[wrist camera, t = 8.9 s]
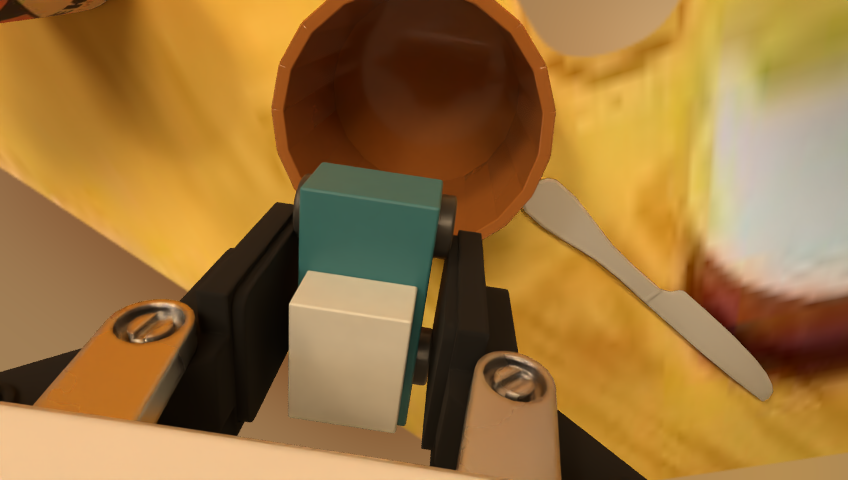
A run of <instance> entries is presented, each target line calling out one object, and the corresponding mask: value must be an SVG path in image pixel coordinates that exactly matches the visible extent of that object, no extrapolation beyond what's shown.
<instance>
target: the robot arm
mask: <svg viewBox="0 0 848 480" xmlns="http://www.w3.org/2000/svg"><path fill="white" fill-rule="evenodd" d="M293 206H294V205H292V204H286V203H279V202H277V203H275V204H274V205H273V206H272V208H271V209H270V210H269V211H268V212H267V213H266V214H265V215H264V216H263V217H262V218H261V220H260V221H259V222H258V223H257V224H256V225H255V226H254V227H253V228H252V229H251V230H250V232H249V233H248V234H247V235H246V236H245V237H244V238H243V239H242V240H241V241H240V242H239V244H238V245H237V246H236V247H235V248H230V249H229V250H227V251H226V252H225V253H224V254H223V255H222V256H221V257H220V259H219V260H218V261H217V262H216V263H215V264H214V265H213V266H212V267H211V268H210V269H209V270H208V271H207V272H206V273H205V275H204V276H203V277H202V278H201V279H200V280H199V281H198V282H197V283H196V284H195V285H194V286H193V287H192V288H191V289H190V291H189V292H188V293H187V294H186V295H185V296H184V297H183V298H182V299H181V300H180V301H175V300H169V299H153V300H148V301H141V302H138V303H135V304H132V305H129V306H126V307H124V308H122V309H121V310H119V311H117V312H115V313H114V314H113V315H112V316H110V317H109V318H108V319H107V320H106V321H105V322H104V324H103V325H102V326H101V327H100V328H99V329H98V330H97V332H96V333H95V334H94V335H93V336H92V338H91V339H90V340H89V341H88V342H87V343H86V344H85V345H84V347H83V348H81V349H78V350H75V351H71V352H68V353H64V354H61V355H58V356H54V357H51V358H47V359H44V360H40V361H37V362H33V363H30V364H27V365H23V366H20V367H16V368H13V369H10V370H6V371H3V372H0V480H647V479H646V478H644V477H643V476H642V475H640V474H639V473H638V472H637V471H635V470H634V469H633V468H632V467H630V466H629V465H628V464H626V463H625V462H624V461H623V460H621V459H620V458H619V457H617V456H616V455H615V454H614V453H612V452H611V451H610V450H608V449H607V448H606V447H605V446H603V445H602V444H601V443H600V442H598V441H597V440H596V439H594V438H593V437H592V436H591V435H589V434H588V433H587V432H585V431H584V430H583V429H582V428H580V427H579V426H578V425H577V424H575V423H574V422H573V421H571V420H570V419H569V418H568V417H566V416H565V415H564V414H562V413H561V412H560V411H559V410H557V399H556V387H555V383H554V380H553V378H552V376H551V375H550V373H549V372H548V370H547V369H546V368H544V367H543V366H542V365H541V364H540V363H539V362H537V361H535V360H534V359H532V358H530V357H528V356H526V355H523V354H520V353H518V349H517V342H516V336H515V330H514V323H513V317H512V310H511V304H510V298H509V292H508V290H507V289H501V288H494V287H488V286H486V284H485V272H484V259H483V247H482V235H481V233H477V232H471V231H464V230H459V231H458V235H453V238H452V244H451V249H450V253H449V254H448V258H447V259H445V260H444V266H443V272H442V278H441V283H440V289H439V295H438V300H437V306H436V312H435V318H434V323H433V336H432V345H431V353H430V360H429V369H428V380H427V391H426V402H425V413H424V423H423V434H422V445H421V446H422V447H421V448H422V449H428V450H431V457H430V466H425V465H419V464H413V463H406V462H401V461H394V460H388V459H381V458H375V457H369V456H362V455H356V454H349V453H344V452H337V451H331V450H324V449H318V448H311V447H304V446H298V445H292V444H285V443H278V442H272V441H266V440H259V439H252V438H245V437H239V436H237V435H238V433H239V431H240V429H241V428H242V425H243V424H244V422H252V421H253V420H254V418H255V417H256V415H257V413H258V411H259V409H260V407H261V404H262V403H263V401H264V399H265V396H266V394H267V392H268V390H269V388H270V386H271V384H272V382H273V380H274V378H275V376H276V374H277V372H278V370H279V368H280V366H281V364H282V362H283V360H284V358H285V356H286V354H287V352H288V350H289V303H290V301H291V299H292V298H293V296H294V294H295V292H296V291H297V289H298V269H299V237H297V236H296V234H295V232H294V228H293Z"/></svg>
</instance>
